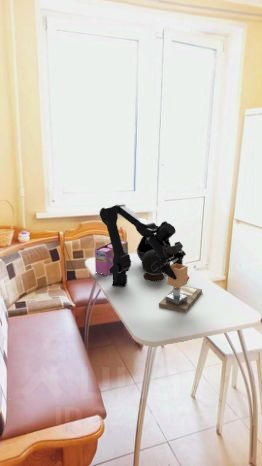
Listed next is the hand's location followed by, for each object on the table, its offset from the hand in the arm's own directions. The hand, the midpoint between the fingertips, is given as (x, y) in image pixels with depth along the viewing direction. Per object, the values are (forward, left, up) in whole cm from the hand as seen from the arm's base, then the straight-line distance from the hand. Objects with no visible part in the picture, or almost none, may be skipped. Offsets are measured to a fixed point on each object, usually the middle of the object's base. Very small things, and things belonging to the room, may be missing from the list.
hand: (180, 277), depth 140 cm
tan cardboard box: (-1, +1, -4) cm, 4 cm away
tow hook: (0, +33, -13) cm, 35 cm away
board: (+1, +7, -13) cm, 15 cm away
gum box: (-39, +40, -13) cm, 58 cm away
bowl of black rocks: (-16, +49, -13) cm, 53 cm away
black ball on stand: (-14, +31, -13) cm, 36 cm away
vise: (0, +2, -12) cm, 12 cm away
